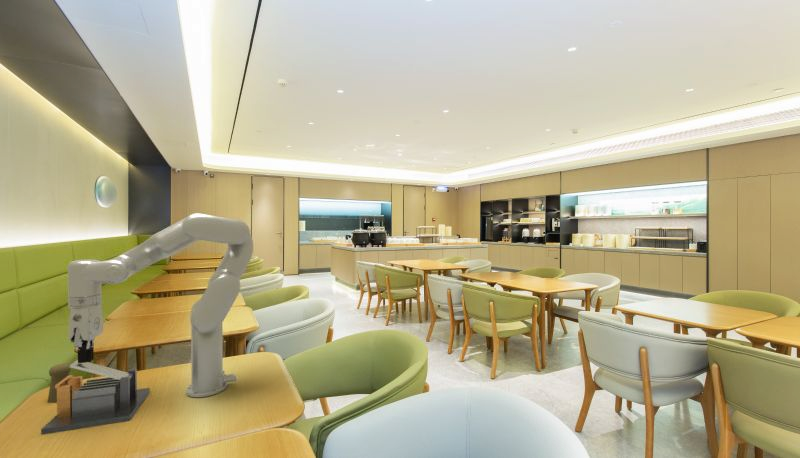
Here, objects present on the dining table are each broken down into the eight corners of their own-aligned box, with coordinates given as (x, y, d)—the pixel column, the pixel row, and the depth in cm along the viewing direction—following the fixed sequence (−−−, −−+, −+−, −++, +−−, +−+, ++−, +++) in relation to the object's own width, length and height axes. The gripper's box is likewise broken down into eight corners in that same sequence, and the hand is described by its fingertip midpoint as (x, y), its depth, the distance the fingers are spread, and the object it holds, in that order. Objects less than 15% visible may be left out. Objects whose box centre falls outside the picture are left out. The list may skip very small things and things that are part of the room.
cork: (57, 403, 112) (56, 369, 111) (42, 401, 113) (41, 367, 112) (78, 394, 117) (77, 362, 117) (63, 392, 119) (63, 360, 118)
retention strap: (132, 377, 112) (134, 373, 112) (127, 382, 108) (129, 378, 108) (76, 362, 107) (78, 358, 107) (68, 367, 103) (71, 363, 103)
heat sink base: (149, 392, 119) (149, 360, 119) (129, 420, 102) (129, 383, 102) (75, 402, 112) (75, 368, 112) (41, 434, 96) (40, 394, 95)
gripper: (88, 305, 100) (89, 369, 100) (111, 295, 114) (111, 351, 114) (55, 307, 97) (55, 373, 97) (82, 296, 111) (82, 354, 112)
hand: (85, 361), depth 106 cm, fingers closed
